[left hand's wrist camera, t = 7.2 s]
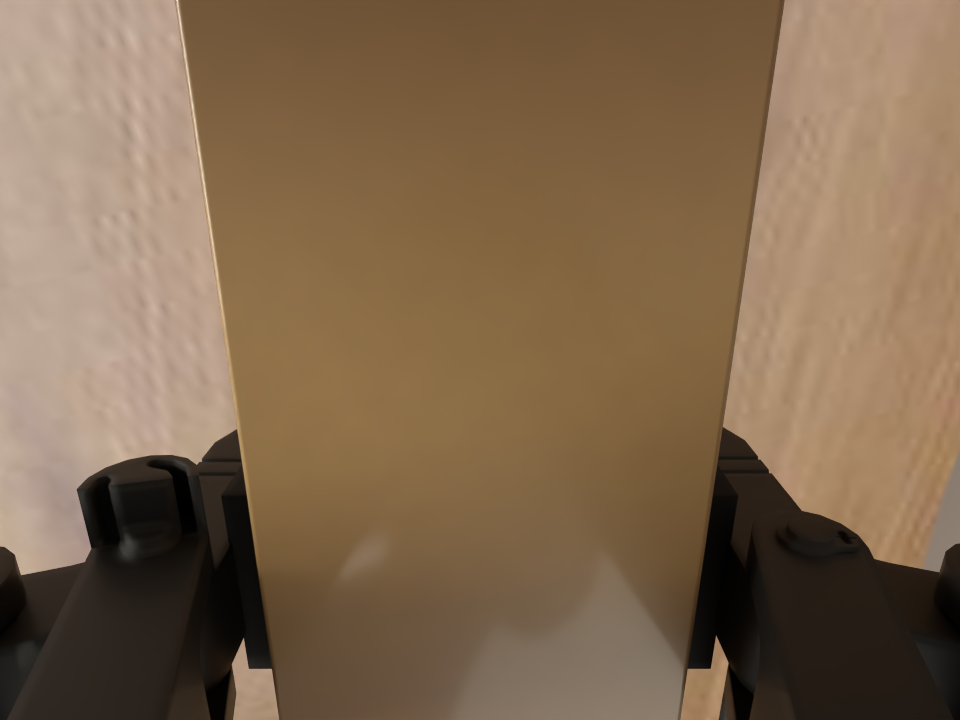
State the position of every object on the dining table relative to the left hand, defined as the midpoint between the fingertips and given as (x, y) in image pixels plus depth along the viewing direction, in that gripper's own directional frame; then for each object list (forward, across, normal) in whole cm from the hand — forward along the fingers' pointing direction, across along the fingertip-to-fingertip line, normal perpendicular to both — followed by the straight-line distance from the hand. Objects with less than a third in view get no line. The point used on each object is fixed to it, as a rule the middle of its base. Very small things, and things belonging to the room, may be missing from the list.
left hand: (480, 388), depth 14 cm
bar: (+1, 0, -8) cm, 8 cm away
